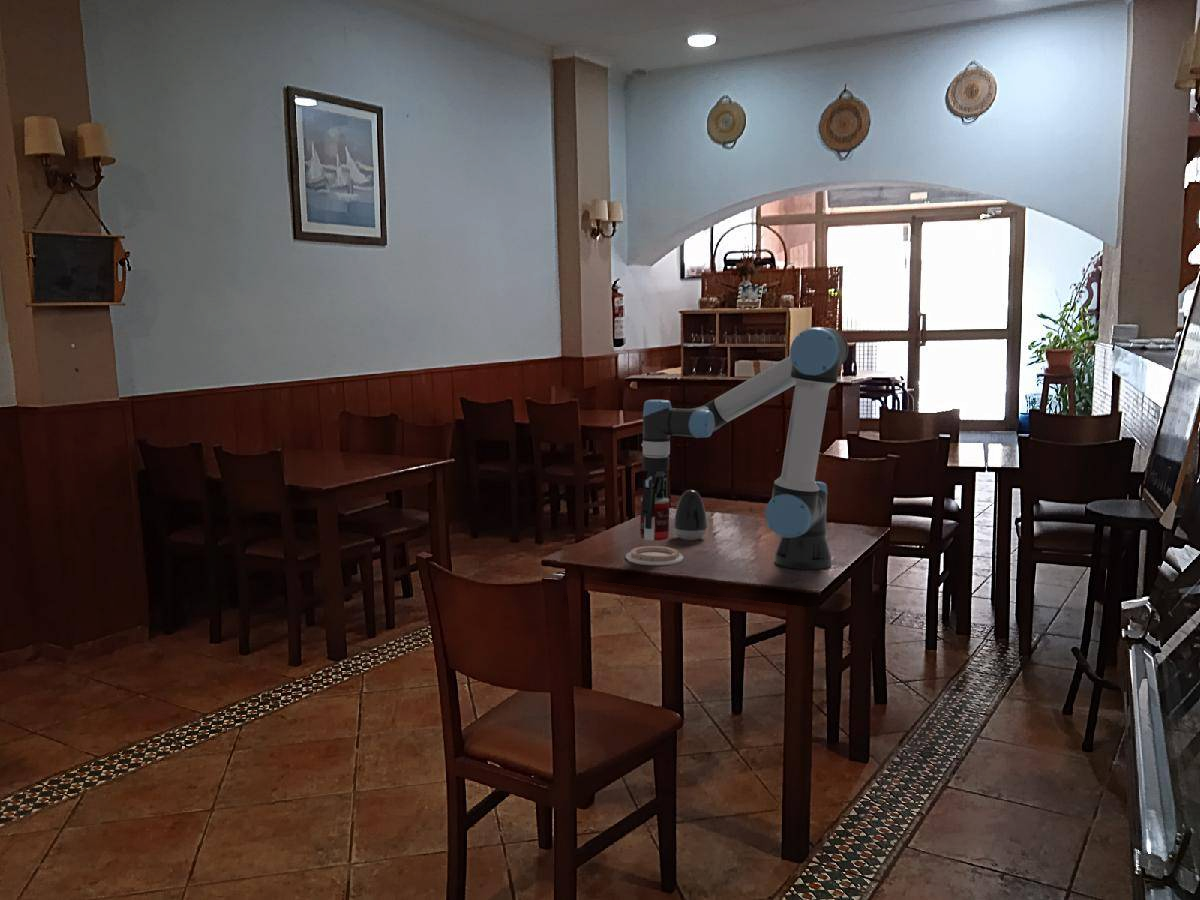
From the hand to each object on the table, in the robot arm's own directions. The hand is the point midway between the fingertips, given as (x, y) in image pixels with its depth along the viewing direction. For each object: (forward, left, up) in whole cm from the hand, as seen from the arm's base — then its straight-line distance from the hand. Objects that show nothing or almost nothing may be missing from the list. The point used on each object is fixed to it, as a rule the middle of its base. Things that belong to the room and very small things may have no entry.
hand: (654, 536), depth 267 cm
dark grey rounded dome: (-1, -29, -6) cm, 30 cm away
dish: (0, 0, -6) cm, 6 cm away
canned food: (0, 0, 0) cm, 0 cm away
